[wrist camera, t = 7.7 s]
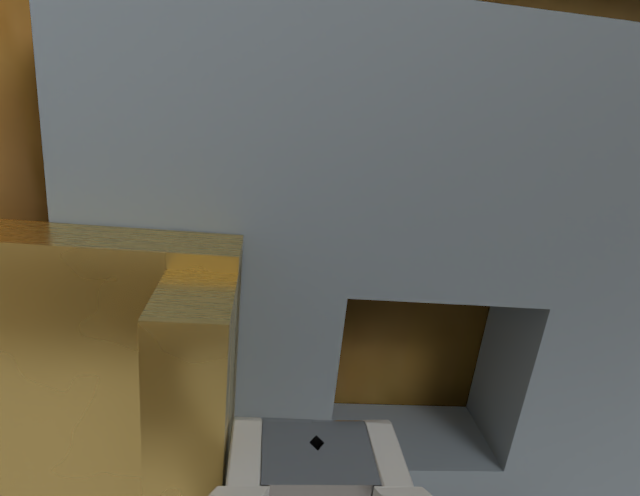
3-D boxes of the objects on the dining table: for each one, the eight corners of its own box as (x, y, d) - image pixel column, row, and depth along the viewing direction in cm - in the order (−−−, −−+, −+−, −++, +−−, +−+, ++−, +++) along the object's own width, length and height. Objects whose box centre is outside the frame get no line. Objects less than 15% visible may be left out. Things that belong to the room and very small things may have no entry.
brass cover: (243, 235, 9) (230, 304, 6) (229, 511, 11) (215, 652, 9) (-161, 207, 8) (-380, 274, 6) (-89, 511, 11) (-220, 668, 8)
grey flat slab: (981, 87, 12) (1147, 89, 10) (740, 545, 18) (813, 617, 15) (83, -27, 10) (23, -60, 7) (115, 551, 15) (86, 640, 13)
